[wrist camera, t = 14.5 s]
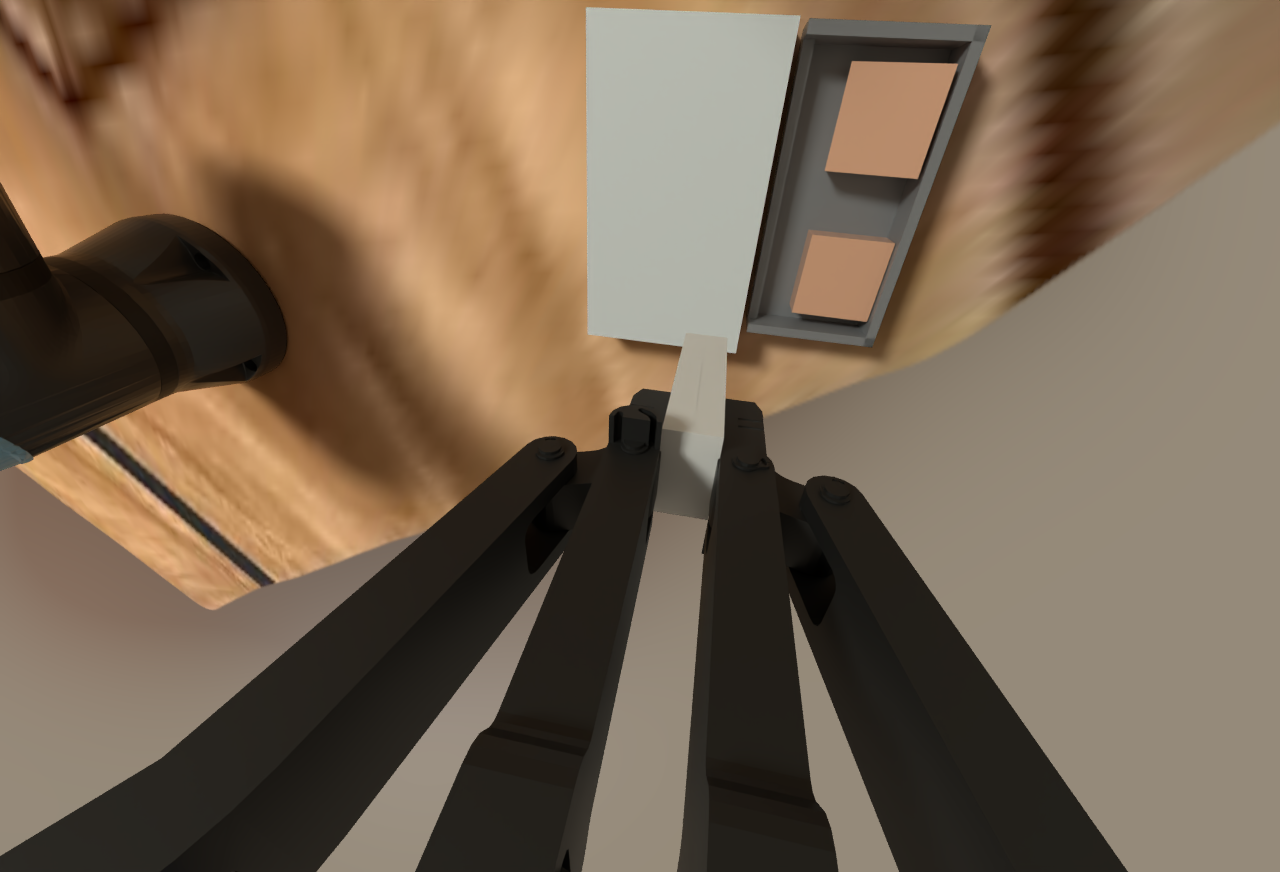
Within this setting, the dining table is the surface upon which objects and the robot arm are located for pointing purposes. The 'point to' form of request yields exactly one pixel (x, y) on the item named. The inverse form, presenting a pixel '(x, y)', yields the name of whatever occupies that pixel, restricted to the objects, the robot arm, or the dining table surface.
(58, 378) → the robot arm
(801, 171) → the tray
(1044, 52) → the dining table surface
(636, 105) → the board
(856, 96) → the tile near
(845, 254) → the tile far
